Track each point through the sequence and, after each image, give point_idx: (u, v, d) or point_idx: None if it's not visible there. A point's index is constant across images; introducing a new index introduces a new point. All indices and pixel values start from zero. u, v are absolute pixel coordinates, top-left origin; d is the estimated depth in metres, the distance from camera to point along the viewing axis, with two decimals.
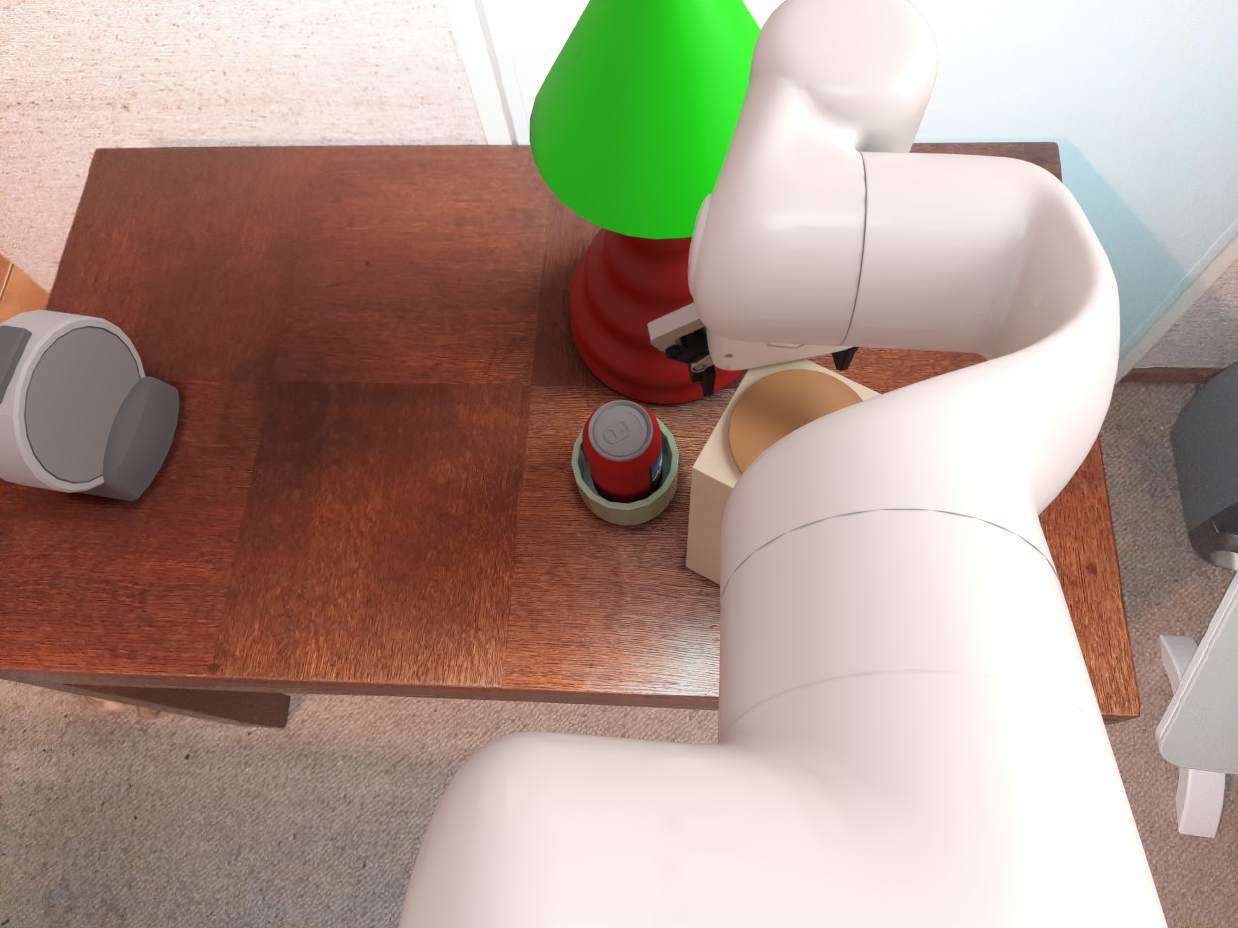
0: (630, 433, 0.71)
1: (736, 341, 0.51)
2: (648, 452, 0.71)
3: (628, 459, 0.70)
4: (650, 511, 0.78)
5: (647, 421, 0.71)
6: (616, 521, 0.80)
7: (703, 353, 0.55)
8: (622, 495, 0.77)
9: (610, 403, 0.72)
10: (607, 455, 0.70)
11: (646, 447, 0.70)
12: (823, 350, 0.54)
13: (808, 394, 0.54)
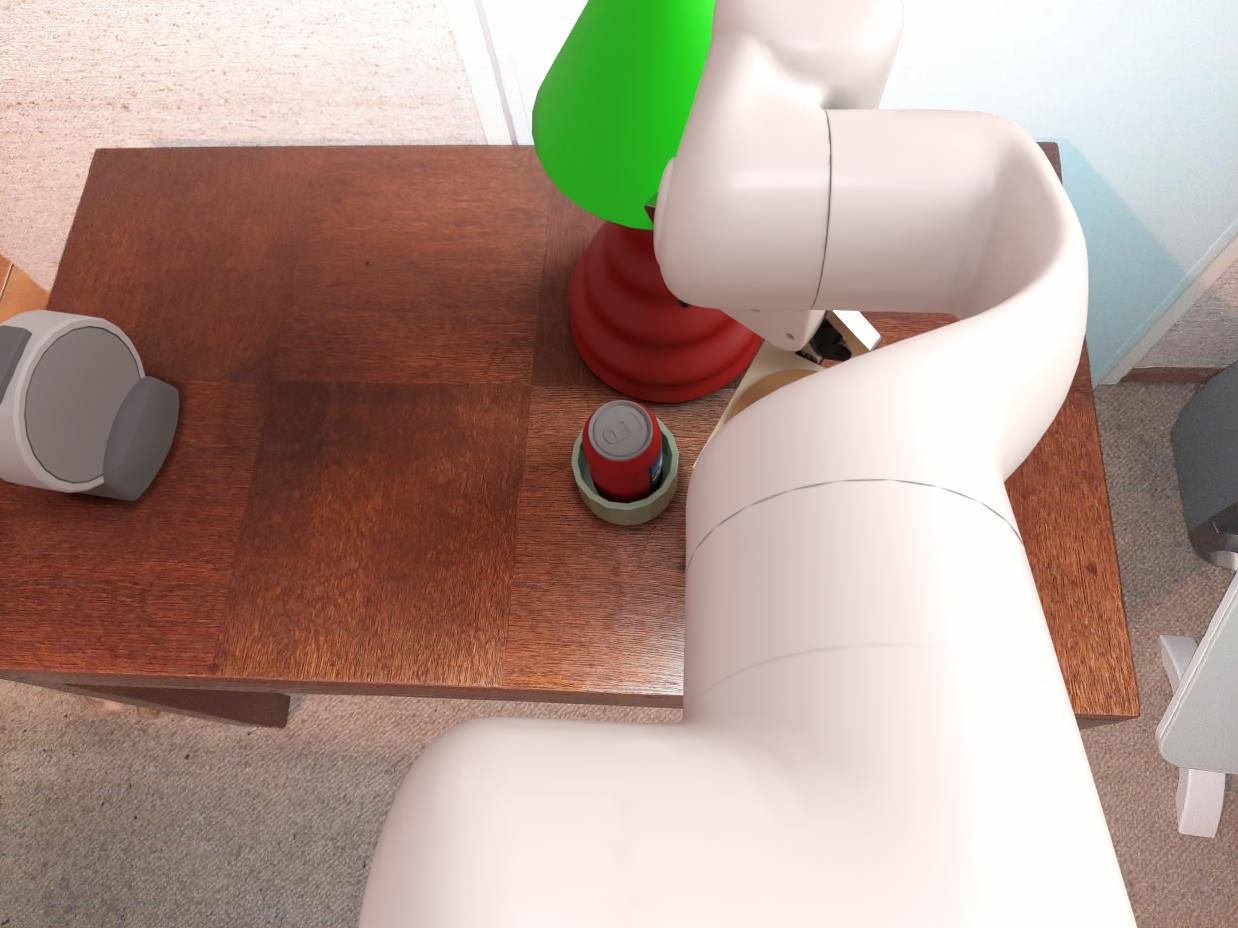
0: (630, 433, 0.71)
1: None
2: (648, 452, 0.71)
3: (628, 459, 0.70)
4: (650, 511, 0.78)
5: (647, 421, 0.71)
6: (616, 521, 0.80)
7: None
8: (622, 495, 0.77)
9: (610, 403, 0.72)
10: (607, 455, 0.70)
11: (646, 447, 0.70)
12: (757, 329, 0.53)
13: None
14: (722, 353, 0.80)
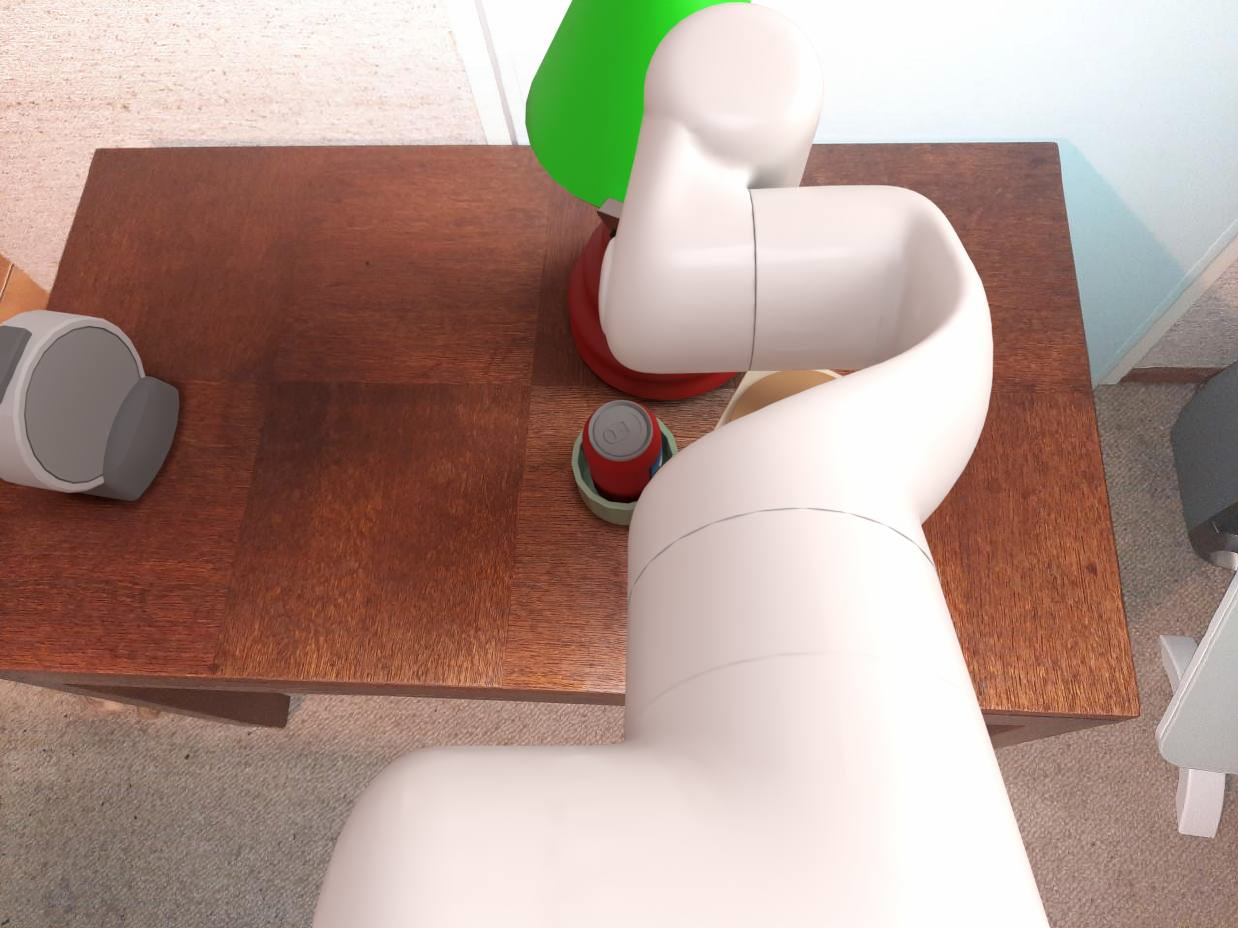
0: (630, 433, 0.71)
1: None
2: (648, 452, 0.71)
3: (628, 459, 0.70)
4: None
5: (647, 421, 0.71)
6: (616, 521, 0.80)
7: None
8: (622, 495, 0.77)
9: (610, 403, 0.72)
10: (607, 455, 0.70)
11: (646, 447, 0.70)
12: None
13: None
14: None
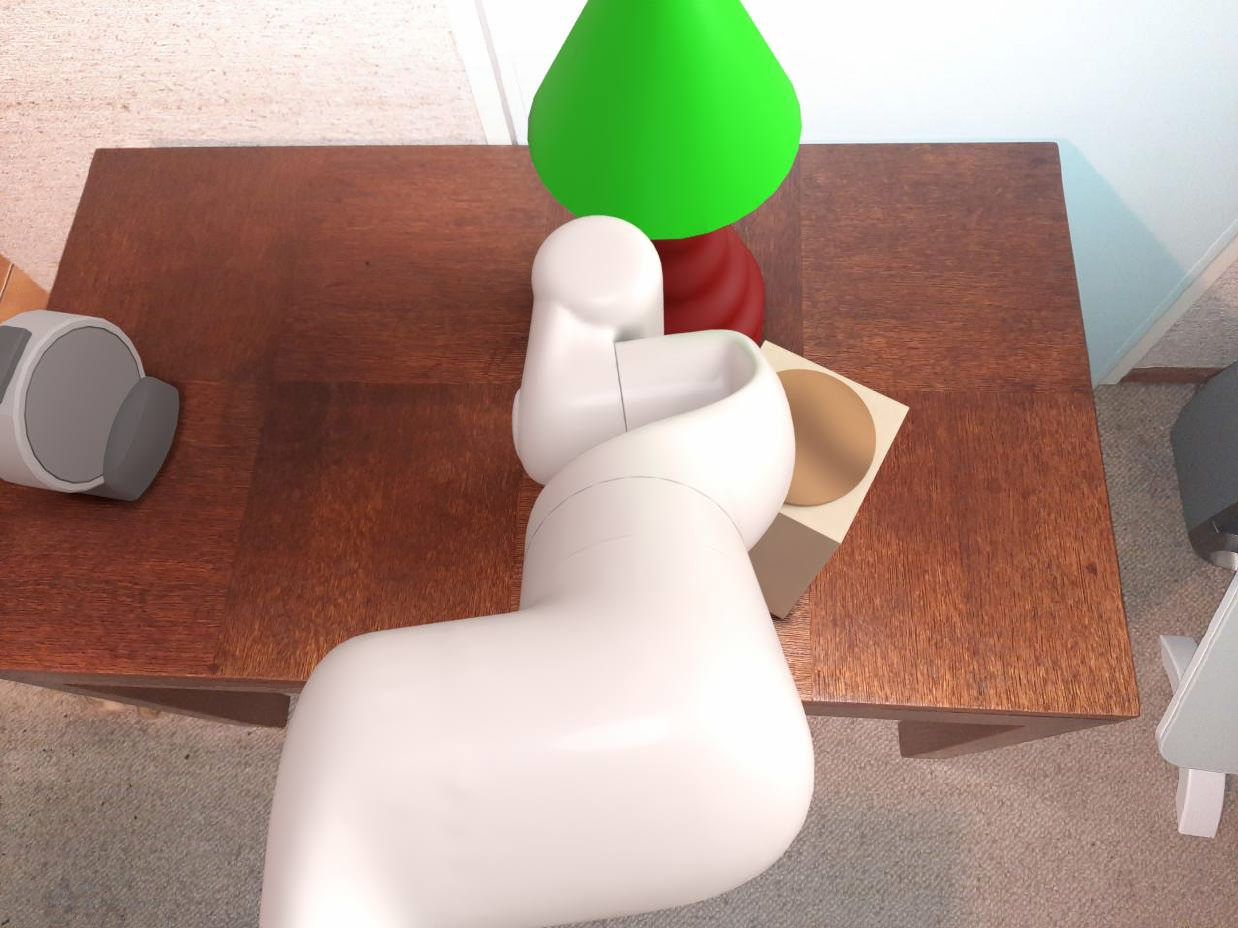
0: None
1: None
2: None
3: None
4: None
5: None
6: None
7: None
8: None
9: None
10: None
11: None
12: None
13: (808, 394, 0.54)
14: None
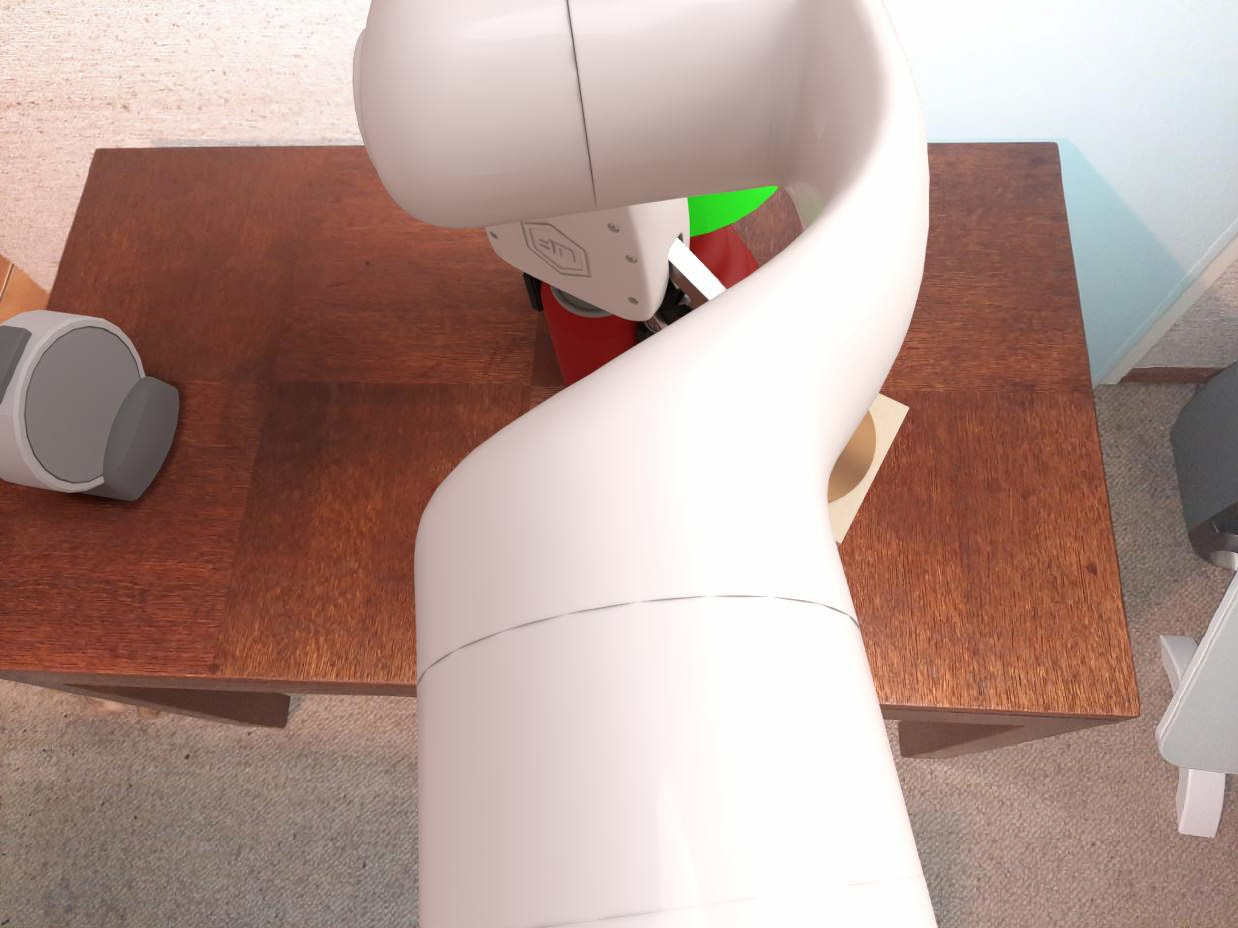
0: None
1: None
2: None
3: (607, 314, 0.47)
4: None
5: None
6: None
7: None
8: None
9: None
10: (576, 308, 0.47)
11: None
12: (597, 301, 0.44)
13: None
14: None
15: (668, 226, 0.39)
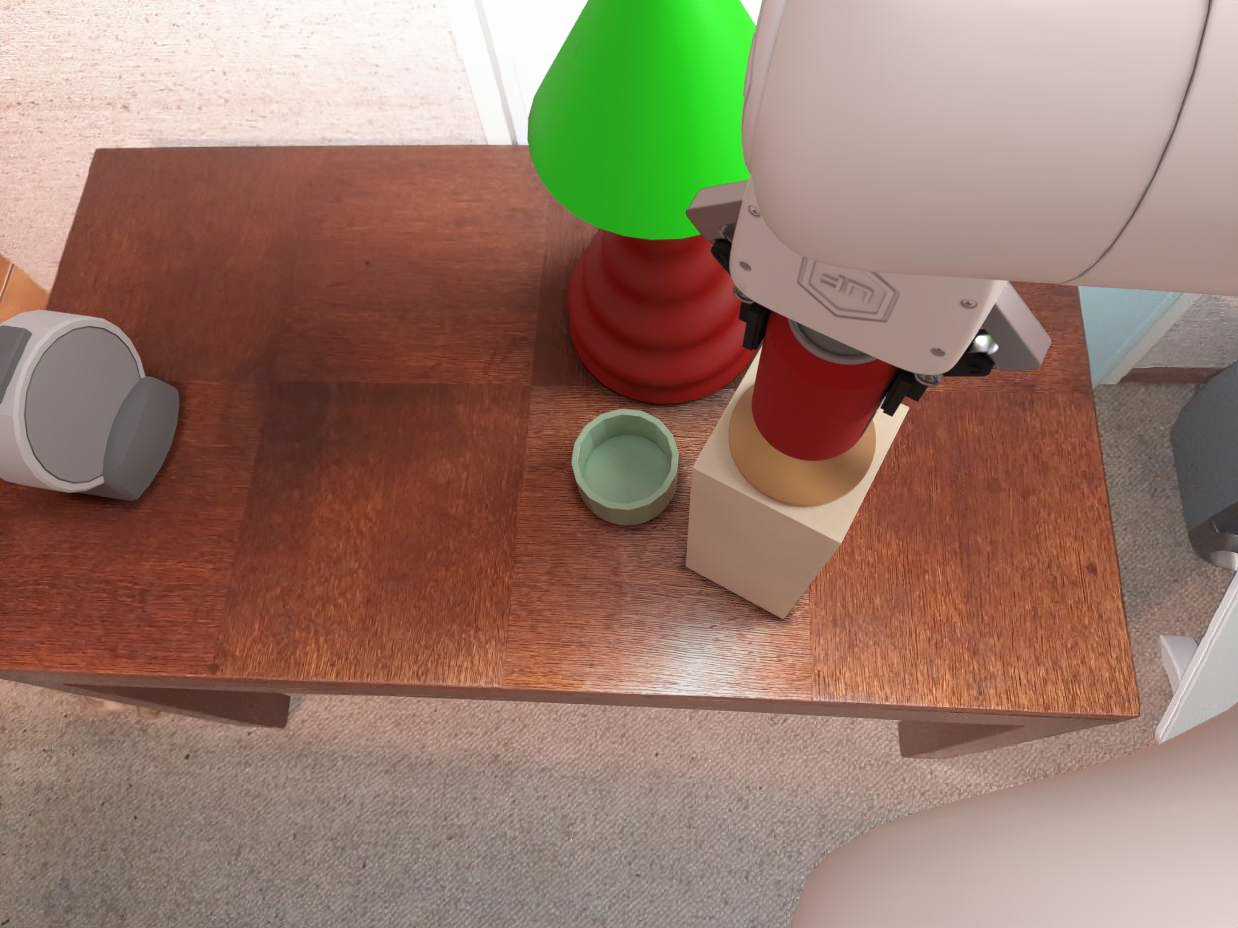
0: None
1: (757, 245, 0.33)
2: None
3: (867, 361, 0.38)
4: (650, 511, 0.78)
5: None
6: (616, 521, 0.80)
7: None
8: (820, 439, 0.44)
9: None
10: (827, 353, 0.38)
11: None
12: (876, 349, 0.35)
13: None
14: (718, 356, 0.80)
15: None
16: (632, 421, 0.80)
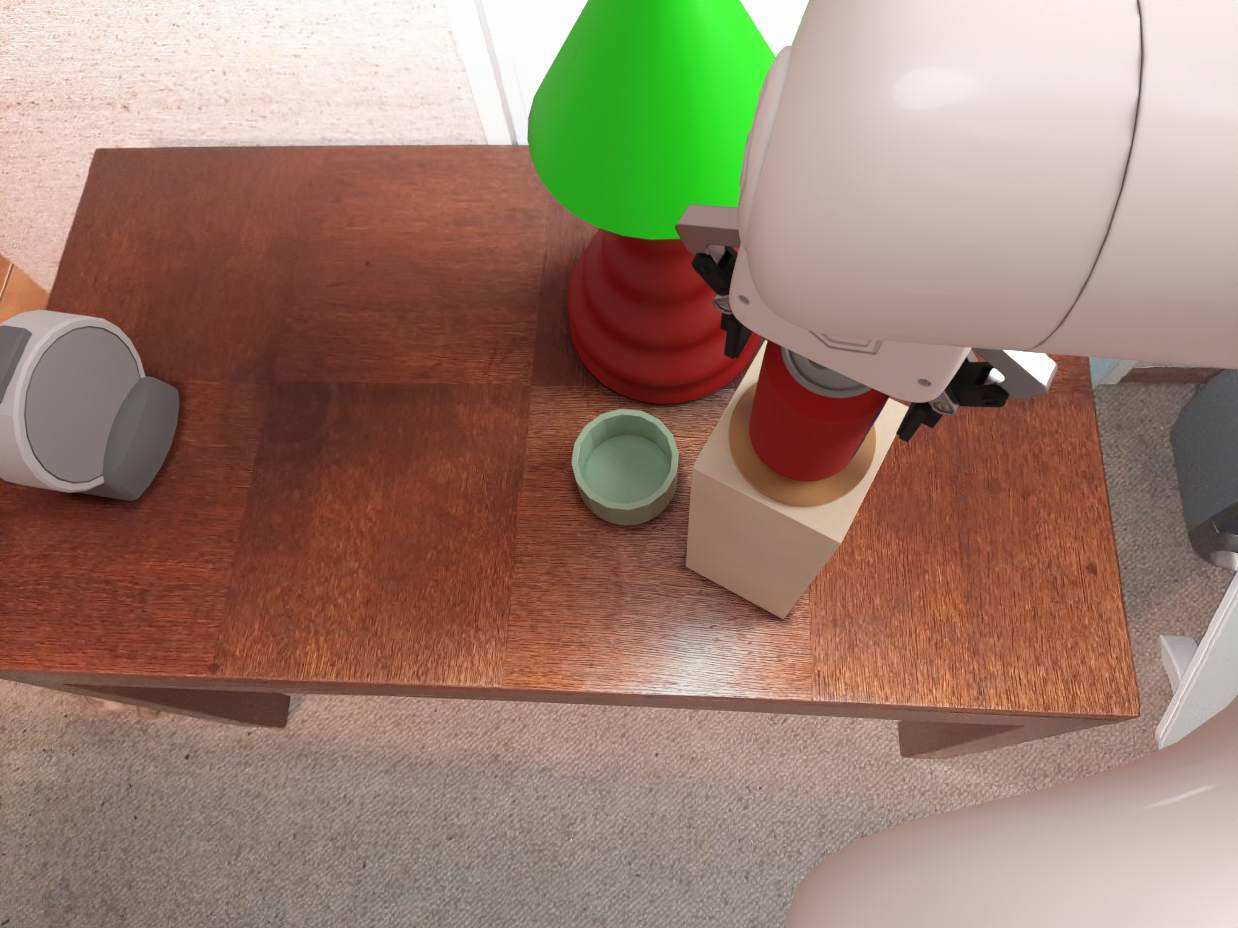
0: None
1: None
2: None
3: (855, 395, 0.41)
4: (650, 511, 0.78)
5: None
6: (616, 521, 0.80)
7: None
8: (813, 462, 0.47)
9: None
10: (818, 387, 0.41)
11: None
12: (867, 378, 0.37)
13: None
14: (718, 356, 0.80)
15: None
16: (632, 421, 0.80)
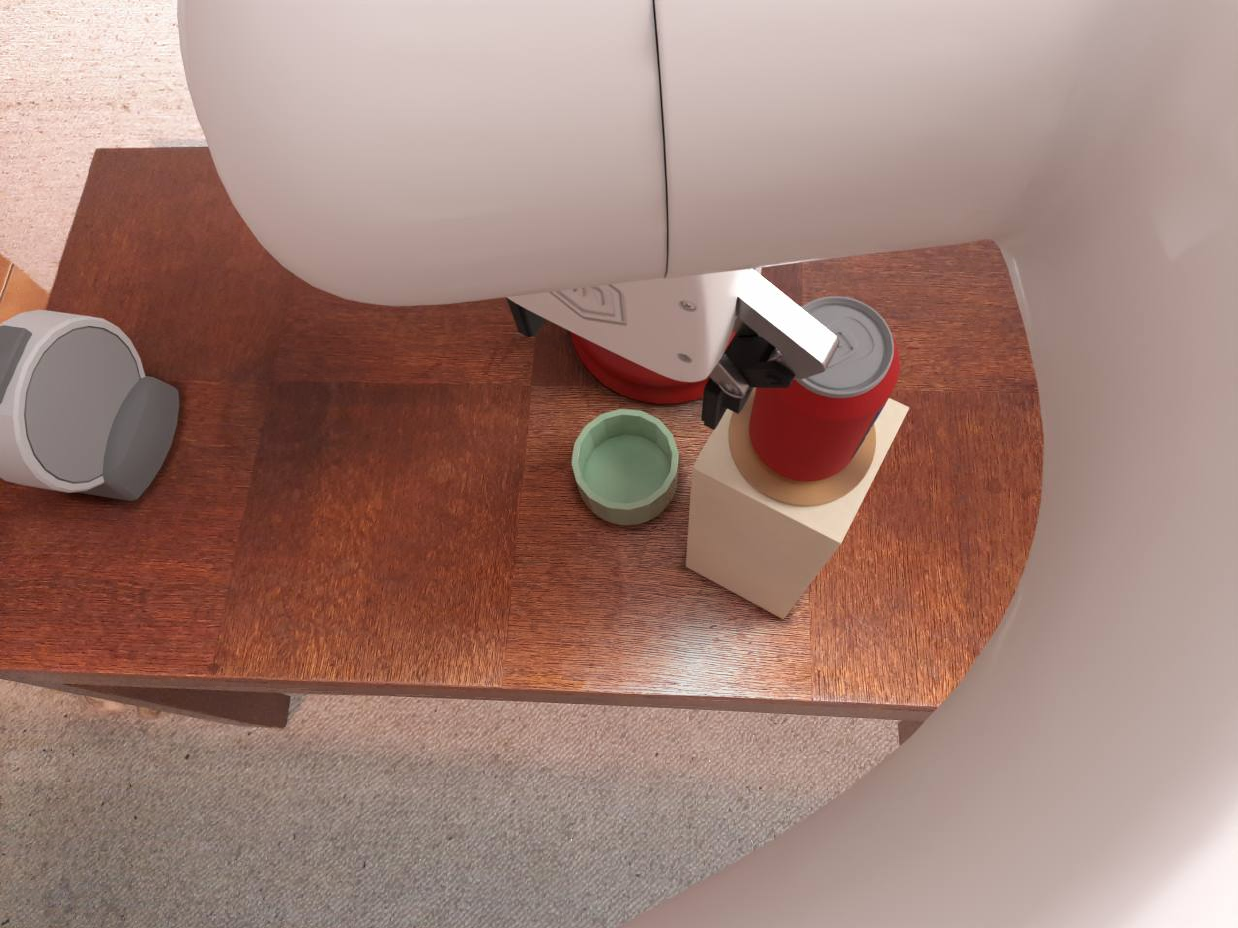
0: (855, 351, 0.41)
1: None
2: (885, 383, 0.41)
3: (855, 395, 0.41)
4: (650, 511, 0.78)
5: (882, 331, 0.42)
6: (616, 521, 0.80)
7: None
8: (813, 462, 0.47)
9: (816, 302, 0.42)
10: (818, 387, 0.41)
11: (885, 374, 0.41)
12: (632, 354, 0.32)
13: None
14: None
15: None
16: (632, 421, 0.80)
